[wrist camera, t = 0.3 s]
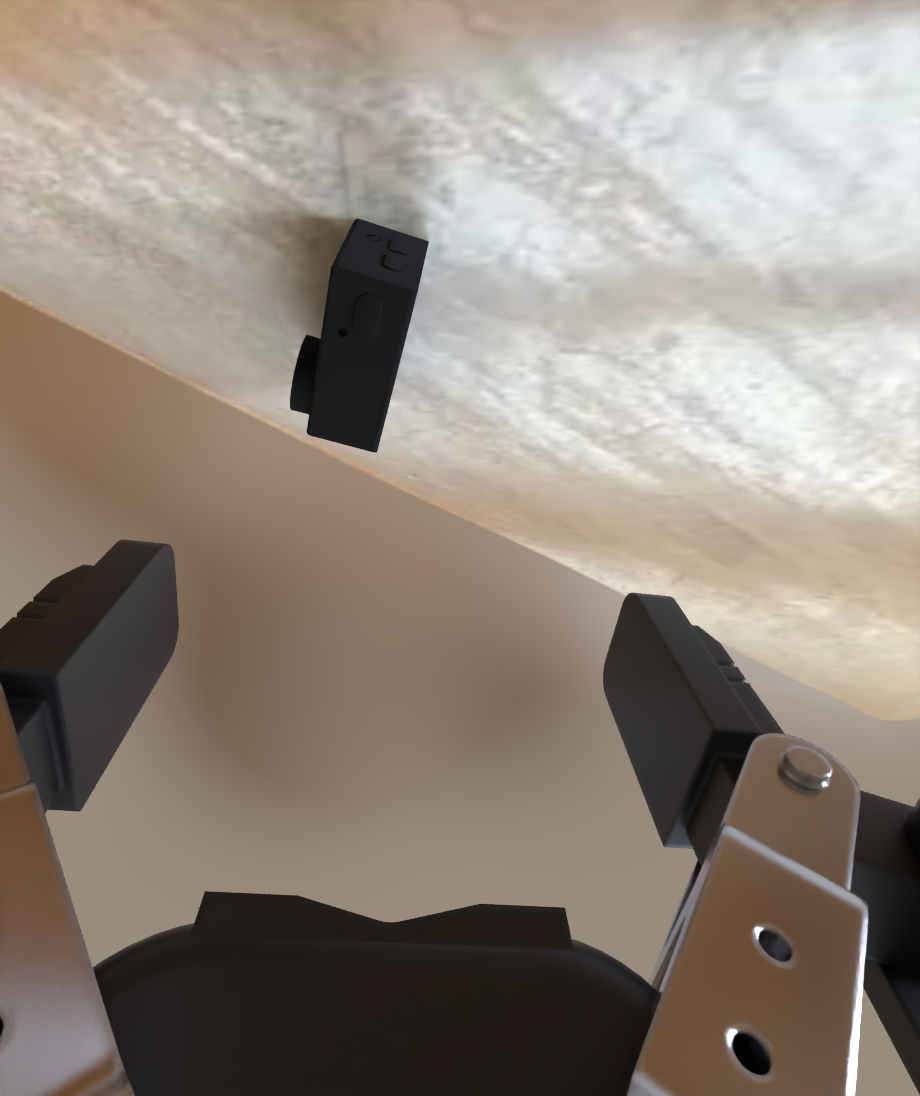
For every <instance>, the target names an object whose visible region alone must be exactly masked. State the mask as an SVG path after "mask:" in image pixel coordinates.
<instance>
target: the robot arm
mask: <svg viewBox="0 0 920 1096" xmlns="http://www.w3.org/2000/svg"><path fill="white" fill-rule="evenodd" d="M178 624H179V623H178V605H177V589H176V574H175V559H174V552H173V550H172V547H171V546H170V545H168V544H163V543H153V542H143V541H133V540H120V541H118V542H117V543H116V544H115V545H114V546H113V547H112V548H111V549H110V550H109V551H108V552H107V553H106V554H105V555H104V556H103V557H102V558H101V559H100V560H99V561H98V562H97V563H96V564H95V565H94V566H91V565H82V566H80V567H77V568H75V569H73V570H71V571H69V572H67V573H65V574H63V575H61V576H59V577H57V578H55V579H53V580H52V581H51V582H50V583H49V584H48V585H46V586H45V587H44V588H43V589H42V590H41V591H40V592H39V593H38V594H37V595H36V596H35V597H34V600H33V602H29V603H27V604H26V605H25V606H24V607H23V608H22V609H21V610H20V611H19V612H18V613H17V617H13V618H12V619H11V620H9V622H7V623H6V624H5V625H4V626H3V627H2V628H1V629H0V1096H854V1095H855V1082H856V1069H857V1056H858V1043H859V1030H860V1017H861V1004H862V992H863V988H864V989H865V991H866V993H867V995H868V997H869V999H870V1001H871V1003H872V1004H873V1006H874V1008H875V1010H876V1012H877V1014H878V1016H879V1018H880V1020H881V1022H882V1024H883V1026H884V1027H885V1029H886V1031H887V1033H888V1035H889V1037H890V1039H891V1041H892V1043H893V1045H894V1047H895V1048H896V1050H897V1052H898V1054H899V1056H900V1058H901V1060H902V1062H903V1064H904V1066H905V1067H906V1069H907V1071H908V1073H909V1075H910V1077H911V1079H912V1081H913V1083H914V1084H915V1086H916V1088H917V1090H918V1092H919V1094H920V799H919V800H918V802H917V803H916V805H915V806H914V807H912V806H909V805H906V804H902V803H899V802H896V801H893V800H889V799H886V798H883V797H879V796H877V795H873V794H870V793H867V792H863V791H861V790H860V789H859V786H858V783H857V782H856V780H855V778H854V777H853V775H852V774H851V773H850V771H849V770H848V769H847V768H846V767H845V766H844V765H843V764H842V763H841V762H840V761H839V760H838V759H836V758H835V757H834V756H832V755H831V754H830V753H828V752H826V751H825V750H823V749H822V748H820V747H818V746H816V745H814V744H813V743H811V742H808V741H806V740H803V739H801V738H798V737H795V736H791V735H786V734H784V732H783V731H782V729H781V728H780V727H779V725H778V724H777V722H776V721H775V719H774V718H773V717H772V715H771V714H770V712H769V711H768V710H767V708H766V707H765V706H764V704H763V703H762V701H761V700H760V698H759V697H758V696H757V694H756V693H755V691H754V690H753V689H752V688H751V686H750V684H749V683H746V679H745V677H744V676H743V674H742V673H741V672H740V670H739V669H738V667H734V662H733V660H732V659H731V658H730V656H729V655H728V653H727V652H726V651H725V649H724V648H723V646H722V645H721V644H720V643H719V642H718V641H717V640H715V639H714V638H713V637H711V636H710V635H709V634H708V633H706V632H705V631H704V630H703V629H701V628H700V627H699V626H694V625H691V623H690V622H689V620H688V619H687V617H686V616H685V614H684V613H683V611H682V610H681V608H680V607H679V605H678V604H677V602H676V601H675V600H674V598H672V597H670V596H660V595H651V594H641V593H629V594H628V595H627V596H626V598H625V600H624V602H623V604H622V608H621V611H620V614H619V617H618V621H617V624H616V627H615V631H614V634H613V638H612V640H611V644H610V647H609V650H608V654H607V657H606V661H605V665H604V672H603V685H604V691H605V695H606V698H607V701H608V703H609V706H610V709H611V711H612V714H613V716H614V719H615V722H616V724H617V727H618V729H619V732H620V734H621V737H622V739H623V742H624V745H625V748H626V750H627V753H628V755H629V758H630V761H631V763H632V766H633V768H634V771H635V773H636V776H637V779H638V781H639V784H640V787H641V789H642V792H643V794H644V797H645V799H646V802H647V805H648V807H649V810H650V812H651V815H652V818H653V820H654V823H655V825H656V828H657V830H658V833H659V836H660V838H661V841H662V843H663V846H664V847H672V848H673V847H674V848H689V849H694V852H695V854H696V856H697V859H698V860H697V863H696V865H695V867H694V869H693V872H692V873H691V876H690V878H689V881H688V884H687V886H686V888H685V891H684V893H683V896H682V898H681V901H680V903H679V906H678V908H677V911H676V913H675V916H674V919H673V921H672V924H671V926H670V929H669V931H668V934H667V936H666V939H665V941H664V944H663V947H662V949H661V951H660V954H659V956H658V959H657V962H656V964H655V967H654V969H653V971H652V974H651V976H650V979H649V981H648V982H646V981H645V980H644V979H643V978H642V977H641V976H639V975H638V974H637V973H635V972H634V971H632V970H631V969H630V968H628V967H627V966H626V965H624V964H623V963H621V962H619V961H618V960H616V959H614V958H613V957H611V956H609V955H608V954H606V953H604V952H602V951H600V950H598V949H596V948H594V947H591V946H589V945H587V944H585V943H582V942H579V941H576V940H573V939H571V935H570V930H569V925H568V921H567V916H566V911H565V908H559V907H537V906H516V905H494V904H478V905H473V906H469V907H464V908H460V909H455V910H450V911H446V912H442V913H437V914H432V915H428V916H423V917H418V918H414V919H410V920H405V921H400V922H393V923H391V922H382V921H378V920H375V919H372V918H368V917H365V916H362V915H359V914H355V913H352V912H349V911H346V910H343V909H339V908H336V907H332V906H330V905H326V904H323V903H320V902H317V901H313V900H310V899H307V898H304V897H300V896H293V895H273V894H272V895H271V894H250V893H228V892H205V893H204V896H203V899H202V902H201V905H200V908H199V911H198V914H197V917H196V920H195V923H193V924H189V925H184V926H179V927H176V928H173V929H170V930H167V931H164V932H161V933H158V934H155V935H152V936H150V937H148V938H146V939H143V940H141V941H139V942H137V943H134V944H132V945H130V946H128V947H126V948H124V949H123V950H121V951H119V952H117V953H115V954H114V955H112V956H110V957H108V958H106V959H105V960H103V961H102V962H100V963H99V964H97V965H96V966H94V967H93V968H92V964H91V961H90V958H89V955H88V952H87V948H86V945H85V942H84V939H83V935H82V932H81V929H80V926H79V923H78V919H77V916H76V913H75V909H74V906H73V903H72V900H71V896H70V893H69V890H68V887H67V884H66V880H65V877H64V874H63V871H62V867H61V864H60V861H59V858H58V854H57V851H56V848H55V845H54V842H53V838H52V835H51V832H50V829H49V826H48V822H47V819H46V816H45V813H46V811H47V810H64V811H81V810H82V808H83V806H84V805H85V803H86V801H87V799H88V798H89V796H90V794H91V792H92V791H93V789H94V788H95V786H96V784H97V783H98V781H99V779H100V777H101V776H102V774H103V772H104V771H105V769H106V767H107V765H108V764H109V762H110V760H111V759H112V757H113V755H114V754H115V752H116V750H117V748H118V747H119V745H120V744H121V742H122V740H123V738H124V737H125V735H126V733H127V731H128V730H129V728H130V727H131V725H132V723H133V721H134V720H135V718H136V716H137V715H138V713H139V711H140V710H141V708H142V706H143V704H144V703H145V701H146V699H147V697H148V696H149V694H150V693H151V691H152V689H153V688H154V686H155V684H156V683H157V681H158V679H159V677H160V676H161V674H162V672H163V671H164V669H165V667H166V666H167V664H168V662H169V660H170V658H171V657H172V654H173V652H174V649H175V646H176V641H177V636H178V626H179V625H178Z"/></svg>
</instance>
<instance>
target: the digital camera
mask: <svg viewBox="0 0 920 1096" xmlns="http://www.w3.org/2000/svg"><path fill="white" fill-rule="evenodd" d="M428 243H429V242H428V241H425V240H422V239H419V238H416V237H413V236H410V235H407V234H404V233H401V232H397V231H394V230H391V229H388V228H385V227H382V226H379V225H376V224H373V223H370V222H367V221H364V220H361V219H355V220H354V222H353V224H352V226H351V228H350V230H349V232H348V234H347V236H346V238H345V240H344V242H343V244H342V246H341V248H340V251H339V253H338V255H337V257H336V259H335V261H334V263H333V265H332V267H331V273H330V279H329V286H328V293H327V299H326V306H325V313H324V319H323V326H322V333H321V339H319V338H316V337H313V336H310V335H306V337H305V338H304V340H303V343H302V346H301V349H300V352H299V355H298V359H297V363H296V367H295V371H294V376H293V381H292V388H291V396H290V408H291V410H294V411H298V412H302V413H306V414H309V420H308V426H307V434H308V435H310V436H314V437H318V438H322V439H326V440H329V441H333V442H337V443H341V444H344V445H348V446H352V447H356V448H360V449H363V450H367V451H371V452H377V450H378V446H379V442H380V438H381V434H382V430H383V426H384V422H385V418H386V414H387V410H388V407H389V403H390V399H391V395H392V391H393V387H394V383H395V379H396V375H397V371H398V367H399V363H400V359H401V355H402V351H403V347H404V343H405V339H406V335H407V331H408V327H409V323H410V319H411V315H412V311H413V307H414V303H415V299H416V296H417V292H418V287H419V283H420V278H421V274H422V269H423V265H424V261H425V256H426V252H427V247H428Z"/></svg>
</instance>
